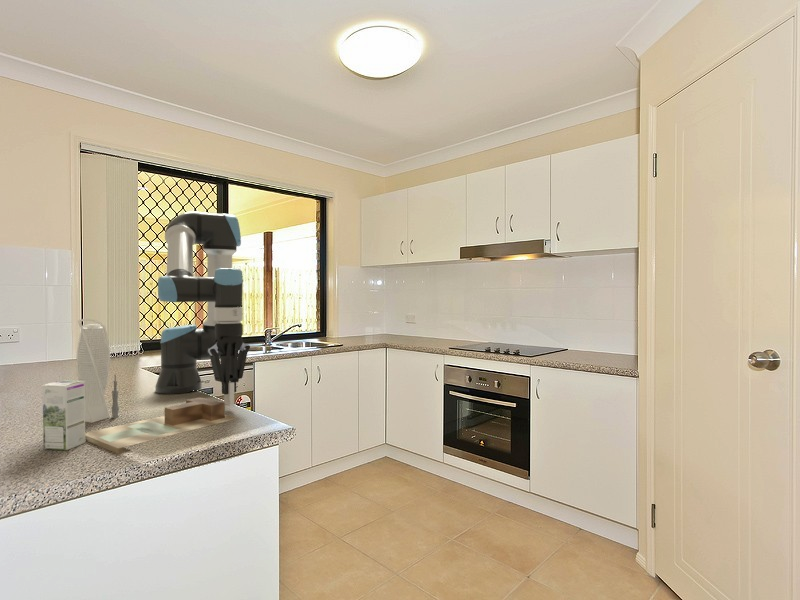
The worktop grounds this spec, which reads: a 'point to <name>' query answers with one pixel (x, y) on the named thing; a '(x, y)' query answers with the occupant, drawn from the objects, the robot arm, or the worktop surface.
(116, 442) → the board
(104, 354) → the skyscraper
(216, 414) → the t block
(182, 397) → the worktop surface
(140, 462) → the worktop surface
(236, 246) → the robot arm
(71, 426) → the syrup box
